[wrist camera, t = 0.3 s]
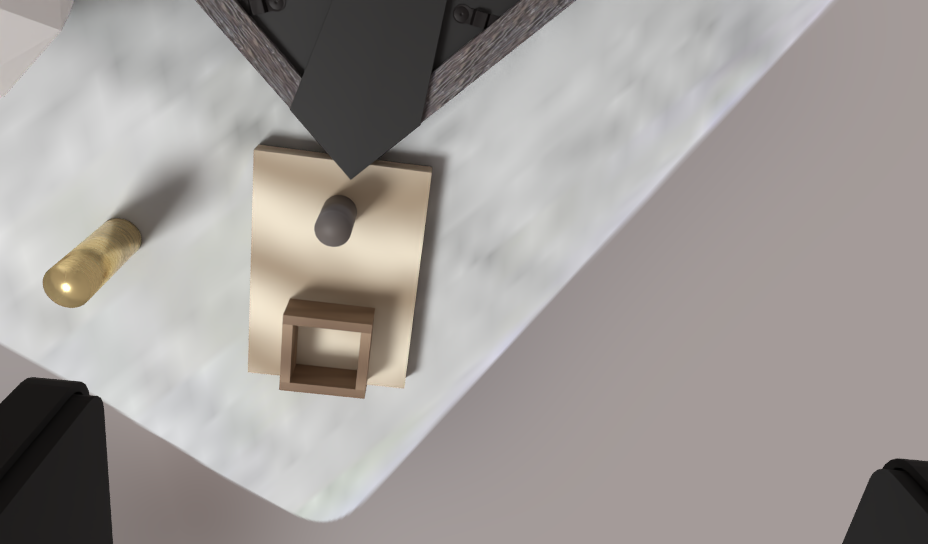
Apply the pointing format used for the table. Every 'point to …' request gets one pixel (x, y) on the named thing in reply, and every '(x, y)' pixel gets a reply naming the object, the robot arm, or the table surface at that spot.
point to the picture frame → (374, 60)
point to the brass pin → (91, 263)
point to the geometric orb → (27, 34)
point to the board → (333, 270)
